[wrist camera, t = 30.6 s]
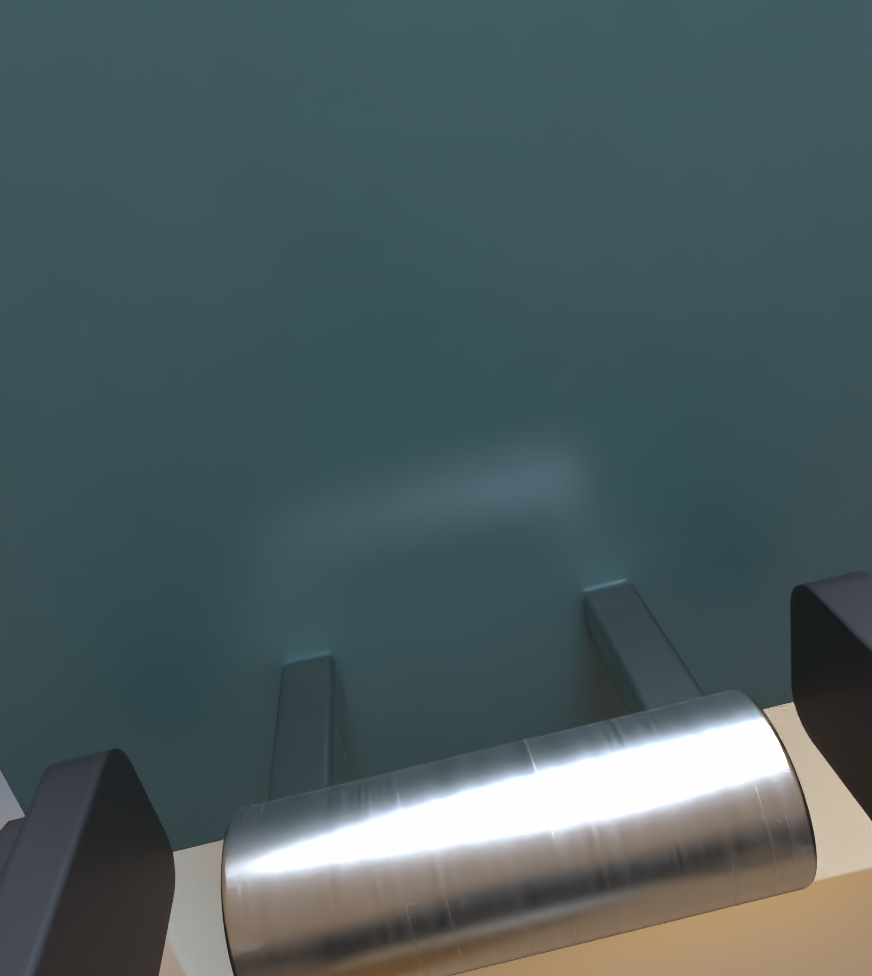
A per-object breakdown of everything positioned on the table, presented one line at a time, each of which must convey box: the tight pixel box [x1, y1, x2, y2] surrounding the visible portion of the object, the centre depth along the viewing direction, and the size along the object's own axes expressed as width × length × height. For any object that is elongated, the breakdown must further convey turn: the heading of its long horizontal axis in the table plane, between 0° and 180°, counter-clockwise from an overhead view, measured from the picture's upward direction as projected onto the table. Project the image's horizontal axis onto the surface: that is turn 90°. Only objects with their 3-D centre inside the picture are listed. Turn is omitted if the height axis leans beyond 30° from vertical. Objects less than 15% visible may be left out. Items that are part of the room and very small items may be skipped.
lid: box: [0, 0, 872, 976], centre depth 7 cm, size 14×13×5 cm
